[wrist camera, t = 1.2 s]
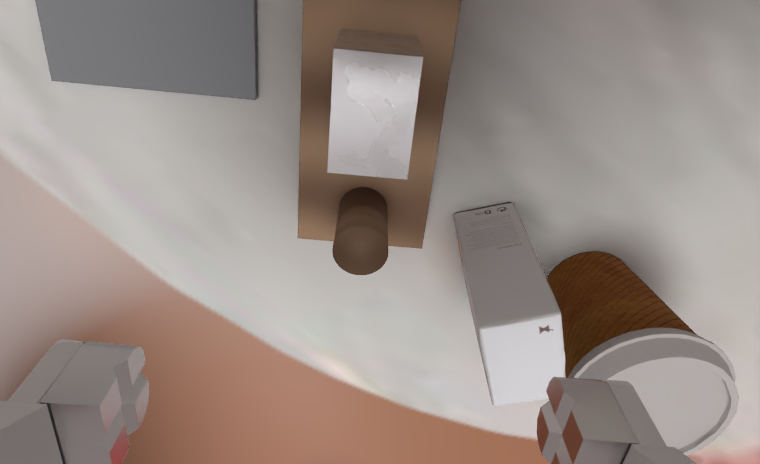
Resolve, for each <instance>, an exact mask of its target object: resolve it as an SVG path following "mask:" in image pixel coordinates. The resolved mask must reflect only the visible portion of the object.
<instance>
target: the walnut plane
mask: <svg viewBox="0 0 760 464" xmlns="http://www.w3.org/2000/svg"><path fill="white" fill-rule="evenodd" d="M460 3H461V0H303V28H302V73H301V118H300V162H299V207H298V238H302V239H314V240H326V241H334V244H333V257H334V259H335V261H336V263H337V264H338V265H339V267H341V268H342V269H343V270H345V271H346V272H348V273H351V274H355V275H367V274H371V273H373V272H376V271H377V270H379V269H380V268H381V267H382V266H383V265H384V264H385V262H386V260H387V257H388V246H398V247H410V248H422V245H423V238H424V232H425V226H426V219H427V213H428V207H429V200H430V194H431V188H432V181H433V175H434V169H435V162H436V156H437V150H438V143H439V137H440V130H441V124H442V118H443V111H444V105H445V99H446V92H447V86H448V80H449V73H450V67H451V61H452V54H453V48H454V42H455V35H456V29H457V22H458V16H459V10H460ZM341 28H343V29H353V30H363V31H373V32H383V33H393V34H403V35H413V36H417V37H418V41H419V44H420V48H421V51H422V55H423V63H422V71H421V78H420V86H419V94H418V101H417V109H416V116H415V124H414V132H413V139H412V147H411V154H410V162H409V170H408V177H407V180H405V179H394V178H383V177H371V176H360V175H349V174H337V173H327V169H328V149H329V129H330V109H331V89H332V70H333V50H334V46H335V43H336V40H337V38H338V35H339V32H340V30H341Z"/></svg>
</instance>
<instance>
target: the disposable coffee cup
mask: <svg viewBox="0 0 760 464" xmlns="http://www.w3.org/2000/svg"><path fill="white" fill-rule="evenodd" d="M547 282H548V284H549V286H550V288H551V290H552V292H553V294H554V297H555V299H556V302H557V304H558V307H559V309H560V312H561V317H562V328H563V341H564V351H565V376H566V378H580V379H595V380H617V381H628V382H629V383H630V384H632V385H633V387H634V389H635V391H636V392H637V394H638V396H639V398H640V399H641V401H642V403H643V405H644V406H645V408H646V410H647V412H648V414H649V415H650V417H651V419H652V421H653V422H654V424H655V426H656V428H657V429H658V431H659V433H660V435H661V437H662V438H663V440H664V442H665V444H666V445H667V447H675V448H676V449H678V450H679V451H680V452H682V453H683V454H684V455H686V456H688V455H690V454H692V453H694V452H696V451H698V450H700V449H702V448H703V447H705V446H706V445H708V444H710V443H711V442H712V441H714V440H715V439H716V438H717V437H718V436H719V435H720V434H721V433H722V432H723V431H724V430H725V429H726V428H727V427H728V426H729V424H730V422H731V421H732V419H733V417H734V415H735V413H736V411H737V405H738V400H739V396H738V392H737V388H736V385H735V373H734V368H733V365H732V363H731V362H730V360H729V359H728V357H727V355H726V354H725V353H724V352H723V351H722V350H721V349H720V348H718V347H717V346H716V345H715V344H713V343H712V342H710V341H708V340H705V339H704V338H702V337H700V336H698V335H696V334H695V333H694V332H693V331H692V329H690V328H689V327H688V326H687V325H686V324H685V323H684V322H683V321H682V320H681V319H680V318H679V317H678V316H677V315H676V314H675V313H674V312H673V311H672V310H671V309H670V308H669V307H668V306H667V305H666V304H665V303H664V302H663V301H662V300H661V299H660V298H659V297H658V296H657V295H656V294H655V293H654V292H653V291H652V290H651V289H650V288H649V287H648V286H647V285H646V284H645V283H644V282H643V281H642V280H641V279H640V278H639V277H638V276H637V275H636V274H634V273H633V272H632V271H631V270H630V269H629V268H628V267H627V266H626V265H625V264H624V263H623V262H622V261H621V260H620V259H619V258H617V257H615V256H613V255H611V254H608V253H604V252H587V253H582V254H578V255H575V256H573V257H570V258H568V259H567V260H565V261H563V262H562V263H560V264H559V265H558V266H557V267H556V268H555V269H554V270H553V271H552V272H551V273H550V275H549V277H548V279H547Z"/></svg>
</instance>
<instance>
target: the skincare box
mask: <svg viewBox="0 0 760 464" xmlns="http://www.w3.org/2000/svg"><path fill="white" fill-rule="evenodd" d="M454 221H455V227H456V232H457V238H458V244H459V250H460V256H461V261H462V267H463V272H464V277H465V283H466V288H467V293H468V297H469V302H470V307H471V312H472V316H473V321H474V325H475V330H476V335H477V339H478V343H479V348H480V352H481V357H482V361H483V365H484V370H485V374H486V379H487V383H488V388H489V392H490V396H491V401H492V405H493V406H494V407H497V406H504V405H510V404H517V403H523V402H530V401H537V400H544V399H549V398H548V395H547V392H546V390H547V387H548V384H549V382H550V380H551V379H552V378H553V377H565V378H566V376H565V351H564V341H563V328H562V317H561V312H560V309H559V307H558V304H557V302H556V299H555V297H554V294H553V292H552V290H551V288H550V286H549V284H548V282H547V279H546V277H545V275H544V272H543V270H542V268H541V265H540V263H539V261H538V259H537V256H536V254H535V252H534V249H533V247H532V245H531V242H530V240H529V238H528V235H527V233H526V231H525V228H524V226H523V224H522V221H521V219H520V217H519V215H518V213H517V210H516V208H515V205H514V204H513V203H508V204H502V205H497V206H492V207H487V208H482V209H477V210H471V211H466V212H460V213H456V214H454Z"/></svg>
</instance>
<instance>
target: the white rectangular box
mask: <svg viewBox="0 0 760 464" xmlns="http://www.w3.org/2000/svg"><path fill="white" fill-rule="evenodd" d="M422 63H423V55H422V51H421V48H420V44H419V41H418V37H417V36H413V35H403V34H393V33H383V32H373V31H363V30H353V29H343V28H341V30H340V32H339V35H338V38H337V40H336V43H335V46H334V50H333V70H332V89H331V109H330V129H329V149H328V169H327V173H337V174H349V175H360V176H371V177H383V178H394V179H405V180H407V177H408V170H409V162H410V154H411V147H412V139H413V132H414V124H415V116H416V109H417V101H418V94H419V86H420V78H421V71H422Z"/></svg>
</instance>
